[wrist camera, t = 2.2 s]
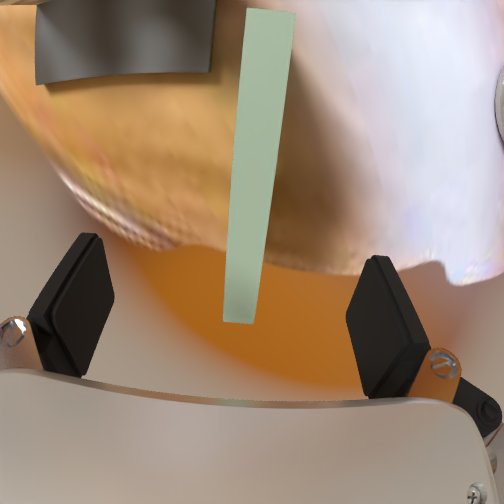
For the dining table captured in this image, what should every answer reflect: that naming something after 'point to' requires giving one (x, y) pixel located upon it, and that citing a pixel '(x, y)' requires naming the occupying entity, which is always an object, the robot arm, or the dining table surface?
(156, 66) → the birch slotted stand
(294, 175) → the dining table surface
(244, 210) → the green slotted plate
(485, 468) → the robot arm
